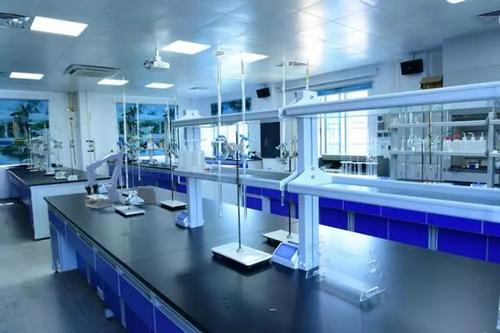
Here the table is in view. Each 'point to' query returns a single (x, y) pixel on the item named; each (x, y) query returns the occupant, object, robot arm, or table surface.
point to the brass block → (99, 199)
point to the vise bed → (100, 204)
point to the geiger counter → (146, 194)
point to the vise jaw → (90, 201)
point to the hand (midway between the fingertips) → (92, 194)
